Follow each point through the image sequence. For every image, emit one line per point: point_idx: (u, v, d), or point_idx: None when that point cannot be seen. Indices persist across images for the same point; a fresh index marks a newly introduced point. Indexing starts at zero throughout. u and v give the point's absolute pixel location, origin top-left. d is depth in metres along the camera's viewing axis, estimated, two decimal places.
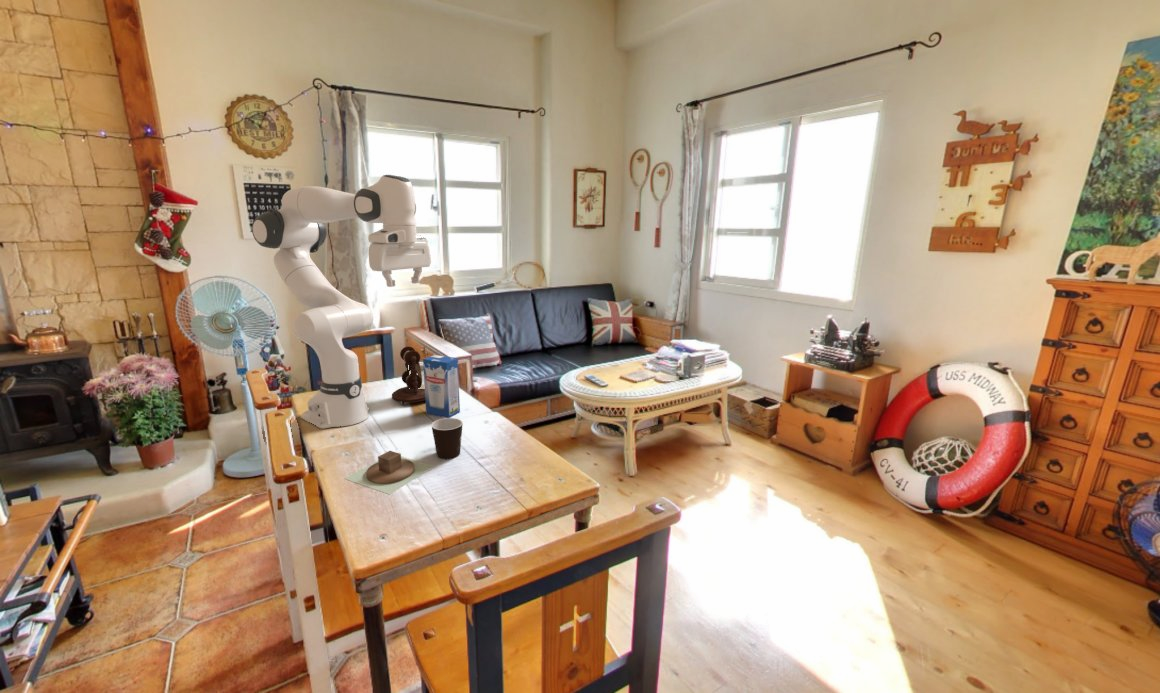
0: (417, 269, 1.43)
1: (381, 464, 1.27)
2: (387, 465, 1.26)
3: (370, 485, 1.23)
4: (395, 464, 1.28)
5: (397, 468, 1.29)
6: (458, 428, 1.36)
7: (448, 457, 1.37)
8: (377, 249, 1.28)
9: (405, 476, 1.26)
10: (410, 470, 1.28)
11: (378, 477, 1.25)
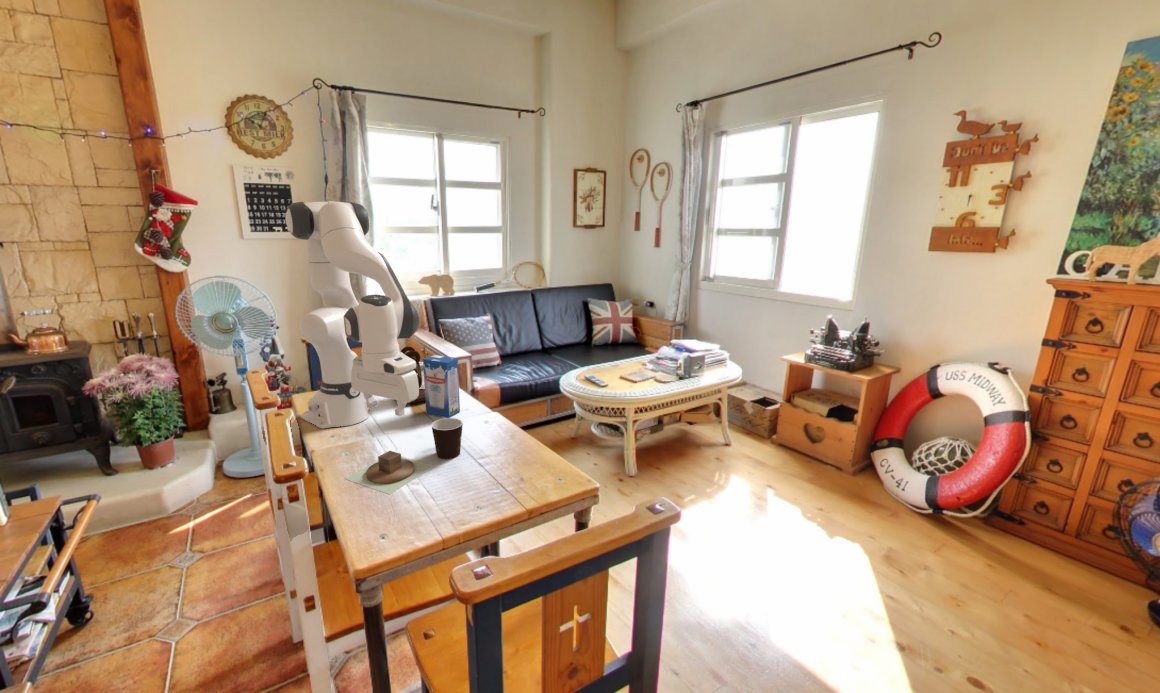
0: None
1: (381, 464, 1.27)
2: (387, 465, 1.26)
3: (370, 485, 1.23)
4: (395, 464, 1.28)
5: (397, 468, 1.29)
6: (458, 428, 1.36)
7: (448, 457, 1.37)
8: (414, 377, 1.19)
9: (405, 476, 1.26)
10: (410, 470, 1.28)
11: (378, 477, 1.25)
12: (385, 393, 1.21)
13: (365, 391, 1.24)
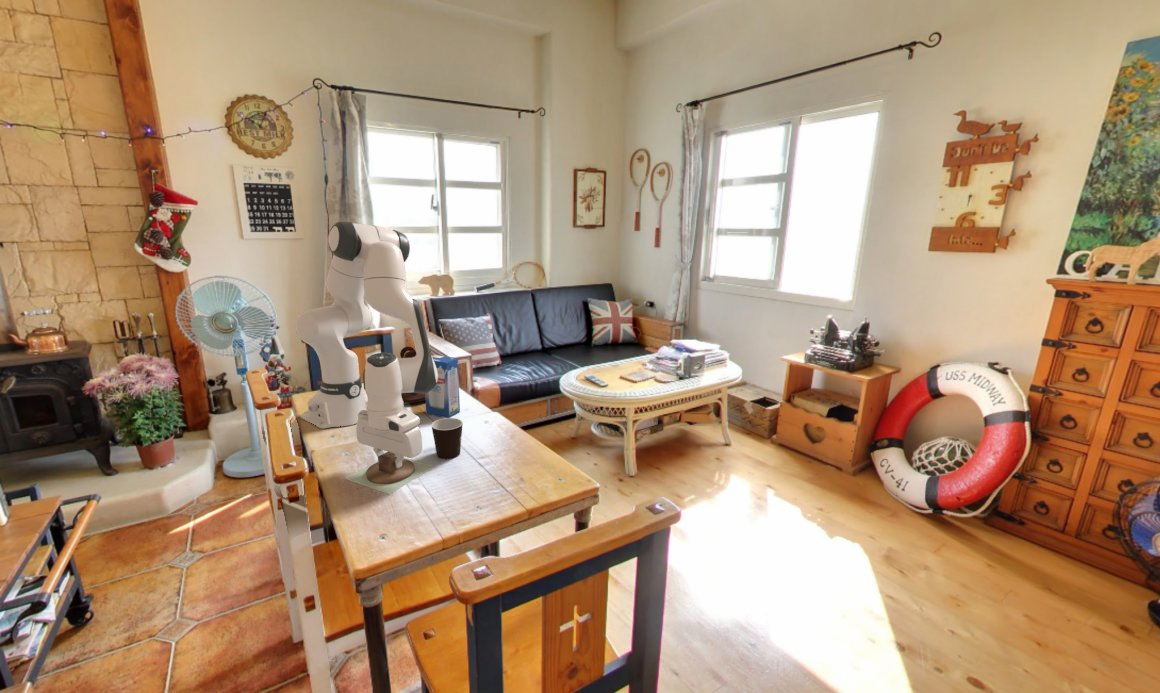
0: None
1: (381, 464, 1.27)
2: (387, 465, 1.26)
3: (370, 485, 1.23)
4: None
5: (397, 468, 1.29)
6: (458, 428, 1.36)
7: (448, 457, 1.37)
8: (418, 433, 1.23)
9: (405, 476, 1.26)
10: (410, 470, 1.28)
11: (378, 477, 1.25)
12: (389, 448, 1.25)
13: (370, 444, 1.28)
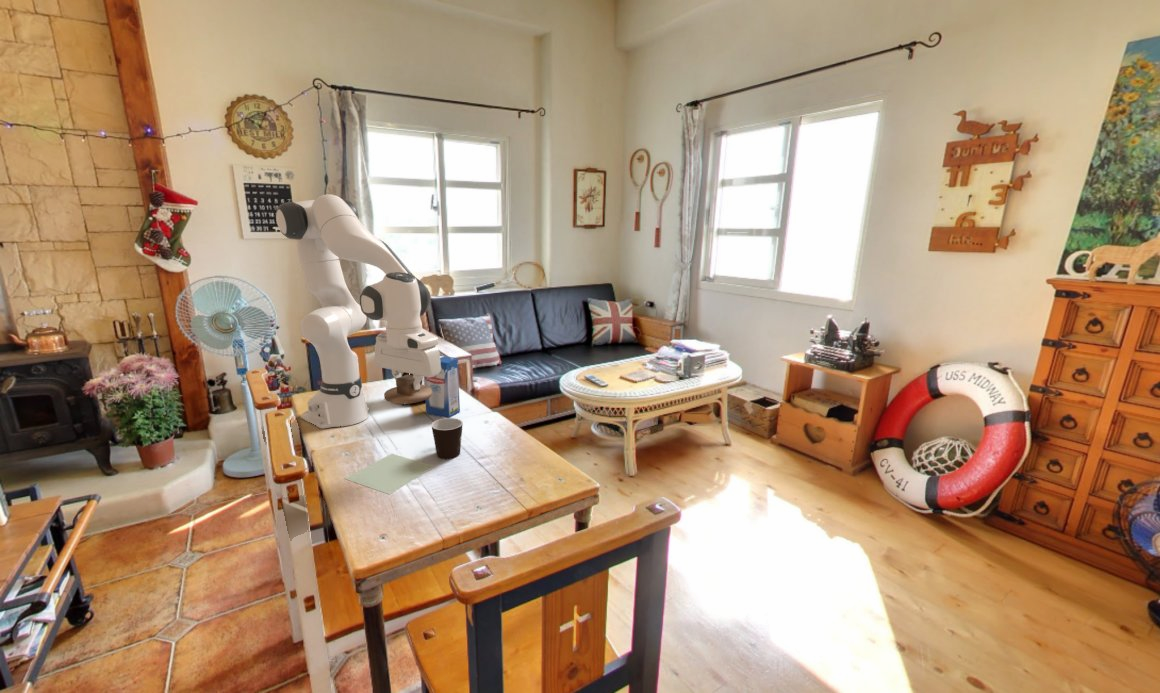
0: None
1: (399, 386, 1.26)
2: (405, 386, 1.26)
3: (370, 485, 1.23)
4: None
5: (415, 391, 1.28)
6: (458, 428, 1.36)
7: (448, 457, 1.37)
8: (436, 353, 1.22)
9: (423, 397, 1.25)
10: (428, 393, 1.28)
11: (396, 397, 1.24)
12: (408, 368, 1.24)
13: (388, 367, 1.27)
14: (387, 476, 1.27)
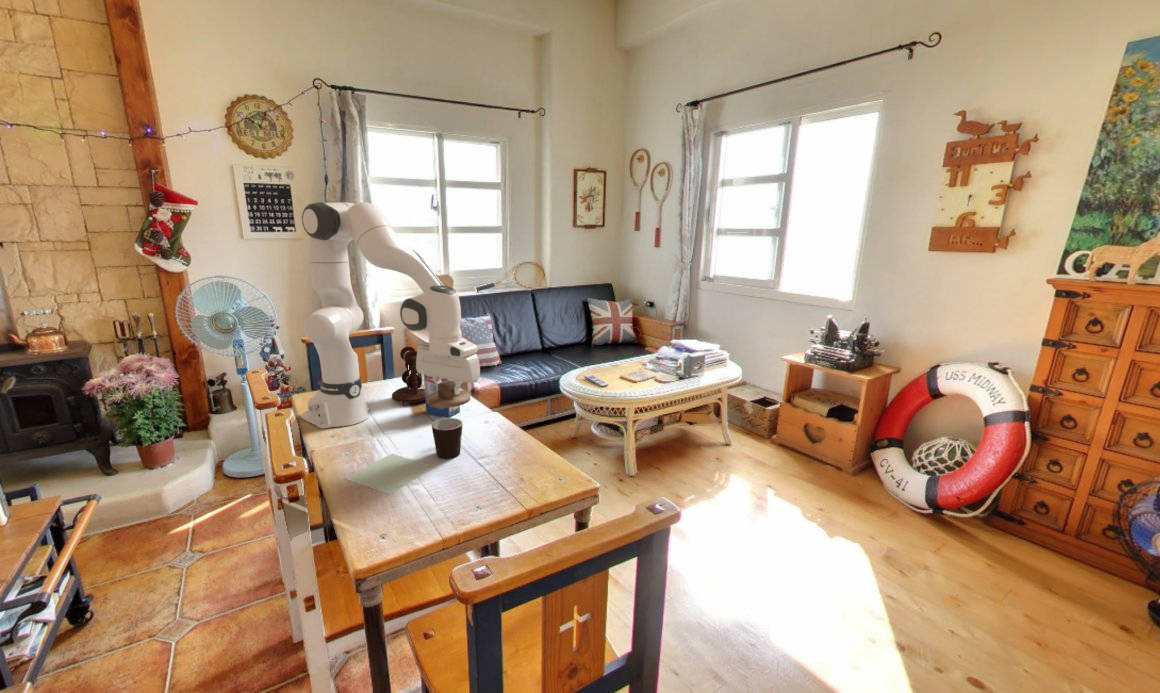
0: None
1: (440, 391, 1.35)
2: (446, 391, 1.35)
3: (370, 485, 1.23)
4: None
5: (455, 396, 1.37)
6: (458, 428, 1.36)
7: (448, 457, 1.37)
8: (476, 360, 1.32)
9: (464, 401, 1.34)
10: (467, 397, 1.37)
11: (439, 402, 1.33)
12: (449, 375, 1.33)
13: (429, 373, 1.36)
14: (387, 476, 1.27)
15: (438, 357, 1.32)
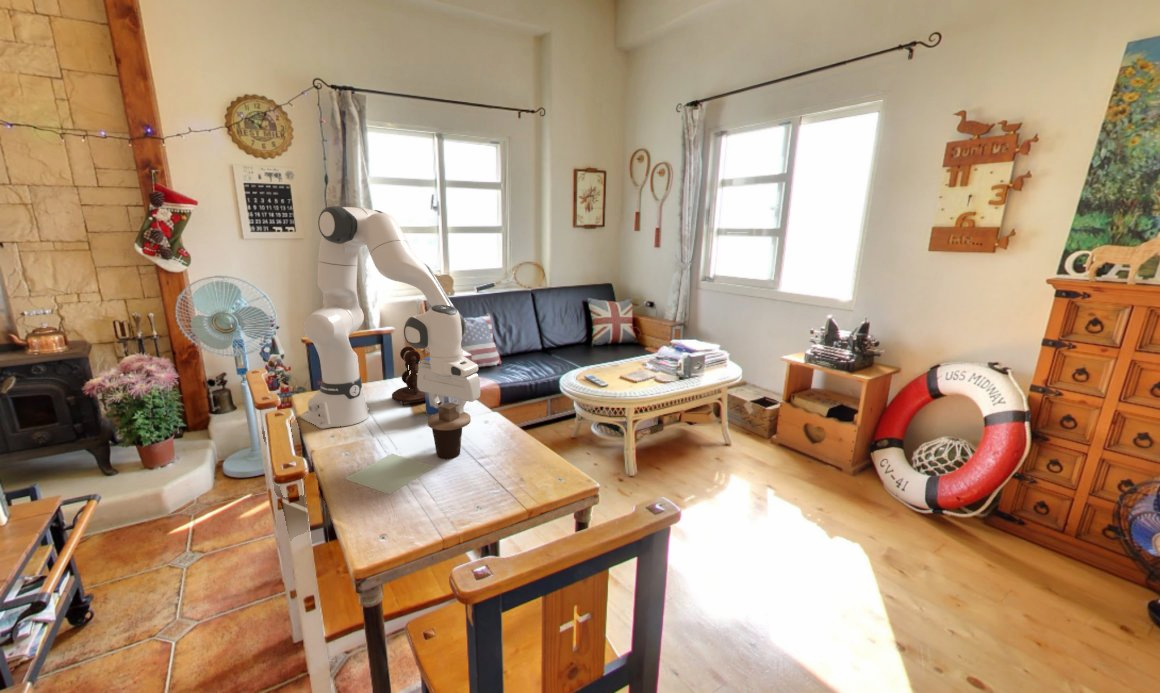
0: None
1: (441, 413, 1.37)
2: (447, 414, 1.36)
3: (370, 485, 1.23)
4: (454, 414, 1.38)
5: (455, 418, 1.39)
6: None
7: (448, 457, 1.37)
8: (477, 379, 1.33)
9: (464, 424, 1.36)
10: (467, 419, 1.38)
11: (439, 424, 1.35)
12: (450, 393, 1.34)
13: (430, 391, 1.37)
14: (387, 476, 1.27)
15: (439, 376, 1.33)
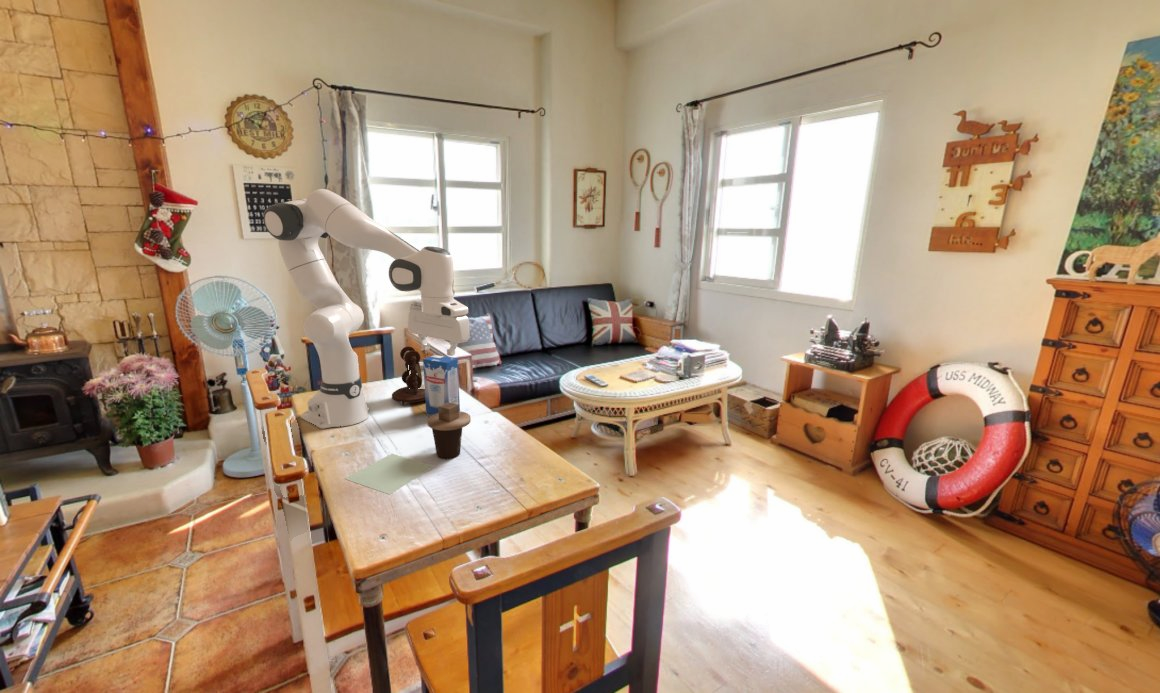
0: (426, 335, 1.42)
1: (441, 413, 1.37)
2: (447, 414, 1.36)
3: (370, 485, 1.23)
4: (454, 414, 1.38)
5: (455, 418, 1.39)
6: None
7: (448, 457, 1.37)
8: (466, 321, 1.35)
9: (464, 424, 1.36)
10: (467, 420, 1.38)
11: (439, 424, 1.35)
12: (439, 334, 1.36)
13: (420, 333, 1.40)
14: (387, 476, 1.27)
15: (429, 316, 1.35)
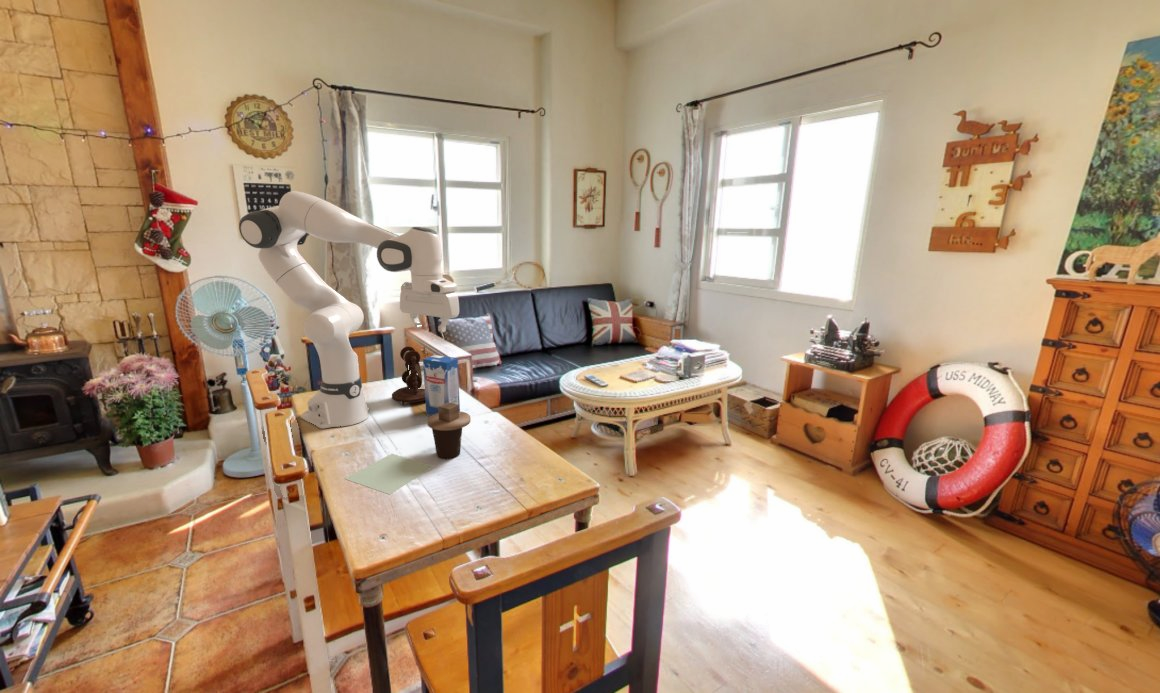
0: (417, 314, 1.47)
1: (441, 413, 1.37)
2: (447, 414, 1.36)
3: (370, 485, 1.23)
4: (453, 414, 1.38)
5: (455, 418, 1.39)
6: None
7: (448, 457, 1.37)
8: (456, 297, 1.40)
9: (463, 424, 1.36)
10: (467, 420, 1.38)
11: (439, 424, 1.35)
12: (430, 311, 1.42)
13: (412, 311, 1.45)
14: (387, 476, 1.27)
15: (420, 294, 1.40)
